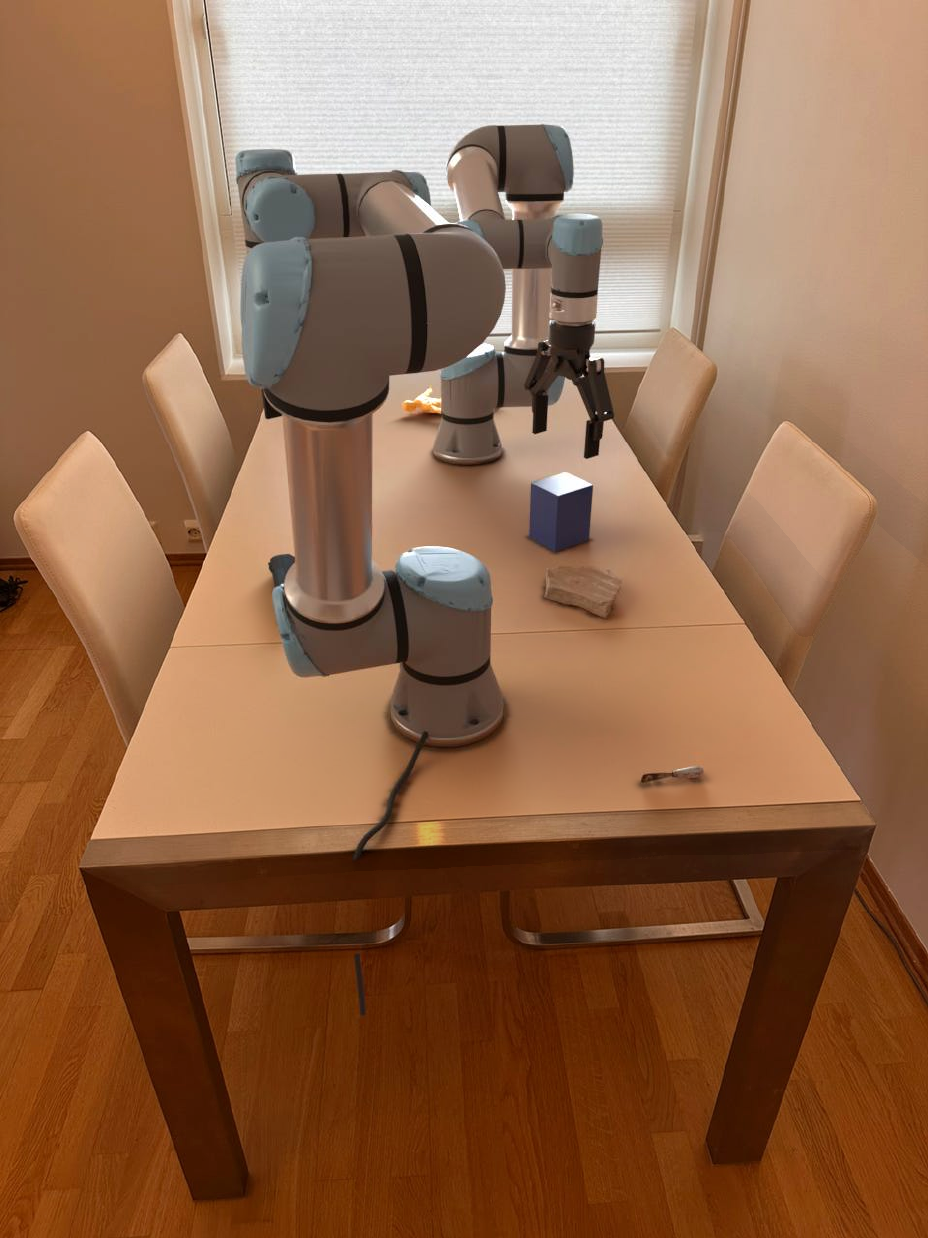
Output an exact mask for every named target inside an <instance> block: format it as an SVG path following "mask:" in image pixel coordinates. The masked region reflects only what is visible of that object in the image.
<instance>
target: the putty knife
mask: <svg viewBox="0 0 928 1238" xmlns="http://www.w3.org/2000/svg"><path fill="white" fill-rule="evenodd" d="M704 772H705V771H704V768H702V767H701V766H697V765H695V766H688V767H683V768H679V769H675V770H673V771H671V772H653V773H652V772H651V773H650V772H649V773H644V774H642V776H641V779H640V783H642V784H645V783H648V782H653V781H659V780H665V779H668V778H673V779H674V778H675V779H693V778H694V779H695V778H700V777H702V776H703V775H704Z"/></svg>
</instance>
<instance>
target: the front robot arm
mask: <svg viewBox="0 0 928 1238" xmlns="http://www.w3.org/2000/svg"><path fill="white" fill-rule="evenodd" d="M234 161H235V171H236V176H235V182H236V185H237V191H238V199H239V204H240V205H239V206H240V213H241V219H242V227H243V232H244V243H245V250H246V256H244V261H243V264H242V268H241V269H242V270H241V279H240V297H239V298H240V304H239V305H240V312H239V313H240V314H239V315H240V326H241V351H242V361H243V368H244V373H245V376H246V380H247V382H248V383H249V385H250V386H252V387H255V388H259V389H261V396H262V405H263V412H264V418H265V420H271V419H276V418H279V417H281V418H282V428H283V440H284V451H285V462H286V474H287V484H288V497H289V506H290V507H289V509H290V519H291V530H292V540H293V541H292V543H293V551H294V553H293V554H294V557H295V563H294V564H293V565H292V566H291V567H290V569H289V570H288V572H287V574H286V578H285V582H284V584H281V585H280V586H277V587H275V586H274V587H273V589H272V591H271V597H272V598H271V599H272V606H273V609H274V610H273V611H274V615H275V620H276V624H277V629H278V632H279V634H280V639H281V643H282V647H283V651H284V654H285V657H286V660H287V661H286V662H287V663H288V666H289V668H290V670H291V672H292V673H293V674H294V675H296V676H297V677H300V678H314V677H321V678H322V677H323V678H325V677H330V676H332V675H338V674H343V673H349V672H355V671H361V670H367V669H372V668H377V667H384V666H389V665H390V666H391V665H396V664H399V672H398V675H397V678H396V681H395V684H394V687H393V690H392V693H391V696H390V703H389V706H390V718H391V721H392V724H393V725H394V727H395V728H396V729H397V731H398V732H399V733H400V734H402V735H403V736H404V737H406V738H407V739H409V740H411V741H413V742H415V743H417V744H416V747H415V749H414V751H413V753H412V755H411V757H410V760H409V762H408V765H407V766H406V768H405V770H404V772H403V773H402V775H401V777H400V778H399V779H398V781H397V782H396V783H395V785H394V787H393V788H392V789H391V792H390V794H389V797H388V801H387V806H386V810H385V812H384V815H383V817H382V818H381V819H380V821H379V822H378V823H377V824H376V825H375V826H373V827H372V828H371V829H370V830H369V831H367V832H366V833H365V834H364V836H362V838H361V839H360V841H359V843H357V846H356V849H355V851H354V854H353V860H355V861H357V860H359V859H360V858H361V857H362V856H361V855H362V853H363V851H364V848H365V846H366V845H367V843H368V842H369V841H370V839H371V838H372V837H374V836H375V835H376V834H377V833H378V832H379V831H381V830H382V829H383V828H384V827H385V826H386V825H387V823H388V822H389V820H390V818H391V816H392V813H393V809H394V804H395V800H396V797H397V795H398V793H399V791H400V789H401V788H402V787H403V785H404V784H405V783H406V781H407V780H408V778H409V776H410V774H411V773H412V771H413V770H414V769H413V768H414V767H415V765H416V762H417V760H418V758H419V755H420V753H421V751H422V749H423V746H424V745H425V746H430V747H437V748H454V747H455V748H457V747H463V746H467V745H471V744H473V743H476V742H480V741H481V740H483V739H485V738H486V737H488V736H489V735H491V734H492V733H493V732H494V731H495V730H496V729H498V727H499V726H500V724H501V722H502V720H503V717H504V697H503V693H502V690H501V687H500V685H499V682H498V679H497V677H496V674H495V672H494V668H493V666H492V664H491V654H492V653H491V651H492V649H491V648H492V647H491V645H492V643H491V642H492V641H491V640H492V606H493V604H494V598H493V594H492V582H491V581H492V580H491V574H490V572H489V570H488V568H487V567H486V566H485V564H484V563H483V562H482V561H481V560H480V559H478V558H477V557H475V556H473V555H471V554H470V553H467V552H464V551H462V550H459V549H456V548H452V547H448V546H447V547H446V546H438V545H437V546H436V545H435V546H434V545H433V546H432V545H428V546H418V547H413V548H410V549H408V550H407V552H406V551H405V552H403V553H401V554H400V556H399V557H398V558H397V561H396V563H395V566H394V569H389V570H382V569H381V568H380V567H379V565H378V564H377V563H376V562H375V561H374V560H373V435H374V434H373V430H374V429H373V425H374V424H373V423H374V422H373V421H374V419H373V417H374V416H373V415H374V413H376V412H377V411H378V410H380V409H381V408H382V406H383V405H384V404H385V403H386V402H387V399H388V396H389V393H390V376H391V377H392V376H401V375H402V376H403V375H411V374H420V373H429V372H436V371H439V370H441V369H442V368H446V367H449V366H451V365H453V364H455V363H457V362H459V361H460V360H462V359H464V358H466V357H467V356H468V355H470V354H471V353H472V352H473V351H474V350H476V349H477V348H478V347H479V346H480V345H481V344H484V342H485V341H486V339H487V338H488V337H489V336H490V334H491V333H492V332H493V330H494V329H495V327H496V325H497V323H498V321H499V320H500V317H501V315H502V312H503V308H504V305H505V300H506V292H507V288H506V287H507V285H506V284H507V283H506V275H505V272H504V269H503V268H502V264H501V262H500V260H499V258H498V256H497V254H496V252H495V251H494V249H493V248H492V247H491V246H490V245H489V244H488V242H487V241H486V240H485V239H483V238H482V237H481V236H480V235H479V234H477V233H476V232H475V231H473V230H472V229H470V228H468V227H466V226H463V225H459V224H456V223H454V222H453V223H452V222H451V223H450V222H448V221H447V220H446V219H445V218H444V217H443V216H442V215H440V214H439V212H437V211H436V210H434V209H433V208H432V201H431V194H430V193H431V191H430V188H429V186H428V182H427V179H426V177H425V176H424V174H422V173H421V172H420V171H408V170H407V171H406V170H405V171H403V170H400V169H393V170H389V171H373V172H351V173H350V172H349V173H311V174H310V173H307V174H305V173H304V174H298V172H297V169H296V163H295V157H294V154H293V153H292V152H291V151H290V150H287V149H282V148H281V149H280V148H279V149H278V148H275V149H274V148H260V149H257V148H256V149H247V150H246V149H245V150H242V151H239V152H238V153H237V154H236V155H235V159H234ZM353 957H354V959H353V960H354V965H355V966H354V967H355V975H356V984H357V993H358V1003H359V1015H360V1016H362V1017H364V1016H366V1013H367V1012H366V999H365V990H364V980H363V969H362V962H361V953H356V954H354V955H353Z"/></svg>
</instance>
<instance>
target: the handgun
mask: <svg viewBox="0 0 928 1238" xmlns="http://www.w3.org/2000/svg"><path fill="white" fill-rule="evenodd" d="M294 563H295V555H292V554H290V553H284V554H281V553H280V554H277V555H273V556H272V557H271V558H270V559H269V561H268V562H267V565H268V570H269V572H270V573H271V575H272V581H273V585H274V588H275V587H277V586H280V585H281V584H284V582H285V578H286V574H287V572H288V570H289V569H290V567H291V566H292V565H293V564H294Z"/></svg>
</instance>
